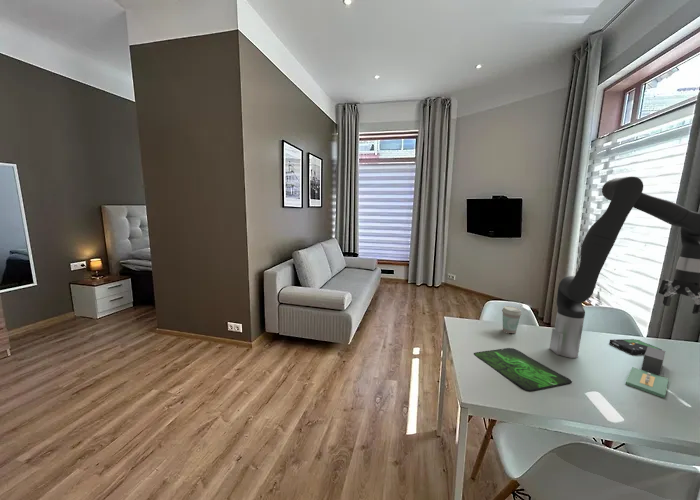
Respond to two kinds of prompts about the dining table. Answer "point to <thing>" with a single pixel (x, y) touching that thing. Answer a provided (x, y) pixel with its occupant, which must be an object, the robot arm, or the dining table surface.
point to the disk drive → (631, 346)
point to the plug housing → (653, 360)
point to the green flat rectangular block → (647, 382)
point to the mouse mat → (522, 369)
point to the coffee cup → (510, 318)
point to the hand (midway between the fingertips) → (680, 309)
